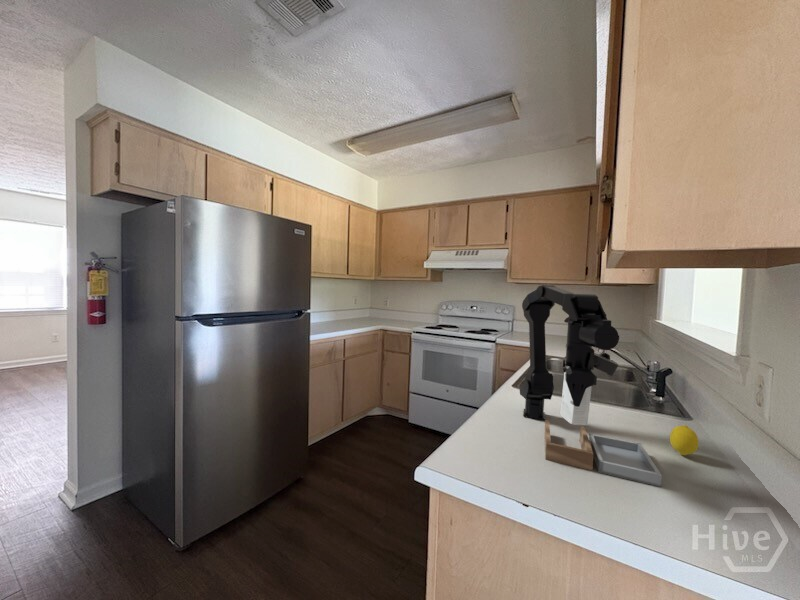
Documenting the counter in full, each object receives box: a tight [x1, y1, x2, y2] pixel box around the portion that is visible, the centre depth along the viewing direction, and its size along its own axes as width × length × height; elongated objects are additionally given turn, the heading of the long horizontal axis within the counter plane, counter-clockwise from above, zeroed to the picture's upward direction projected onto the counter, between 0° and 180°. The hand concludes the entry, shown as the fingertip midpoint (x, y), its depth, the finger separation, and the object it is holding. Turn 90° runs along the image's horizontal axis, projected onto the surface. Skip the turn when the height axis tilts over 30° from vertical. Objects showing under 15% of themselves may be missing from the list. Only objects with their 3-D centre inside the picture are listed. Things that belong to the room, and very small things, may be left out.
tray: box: [588, 433, 663, 488], centre depth 78 cm, size 16×12×3 cm
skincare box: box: [560, 371, 593, 426], centre depth 82 cm, size 6×4×12 cm
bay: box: [543, 419, 594, 471], centre depth 83 cm, size 16×10×4 cm, turn 156°
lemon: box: [669, 424, 699, 457], centre depth 82 cm, size 6×6×8 cm
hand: (575, 401), depth 82 cm, fingers closed on skincare box, 7 cm apart
